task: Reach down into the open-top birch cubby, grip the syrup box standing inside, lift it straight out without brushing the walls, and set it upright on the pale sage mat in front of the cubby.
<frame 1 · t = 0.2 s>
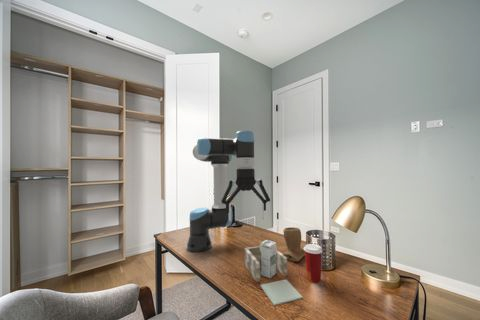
hand: (246, 219, 81), 28 cm above the table, fingers open, 13 cm apart
brown boot: (293, 256, 108), on the table
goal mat: (280, 291, 78), on the table
cubby: (268, 274, 91), on the table
paper cup: (313, 279, 86), on the table
syrup box: (268, 274, 91), resting in cubby
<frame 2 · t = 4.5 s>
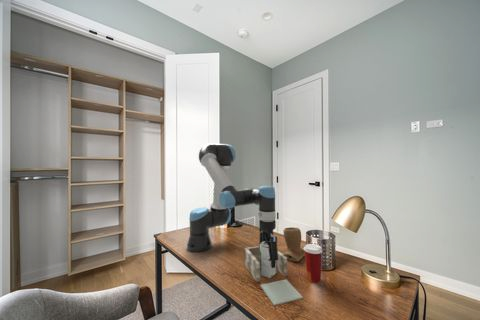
hand: (268, 269, 91), 2 cm above the table, fingers closed on syrup box, 7 cm apart
syrup box: (268, 274, 91), resting in cubby, touching gripper
everything else where it was.
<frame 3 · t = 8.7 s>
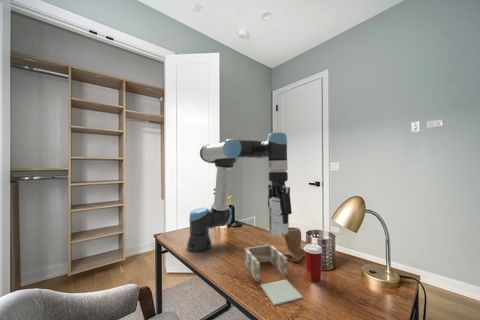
hand: (279, 228, 79), 25 cm above the table, fingers closed on syrup box, 7 cm apart
syrup box: (279, 234, 79), point 23 cm above the table, touching gripper
everything else where it was.
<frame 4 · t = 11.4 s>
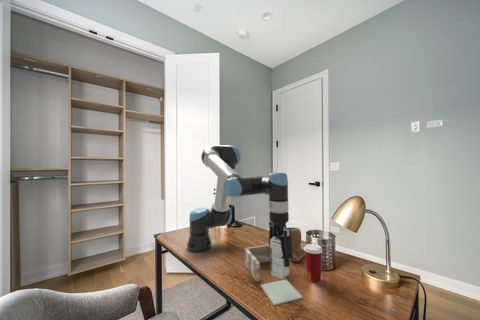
hand: (280, 268, 78), 9 cm above the table, fingers closed on syrup box, 7 cm apart
syrup box: (280, 274, 78), point 7 cm above the table, touching gripper
everything else where it was.
when the fingers open (4 cm above the table, at t = 13.4 s): syrup box stays where it is, resting on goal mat.
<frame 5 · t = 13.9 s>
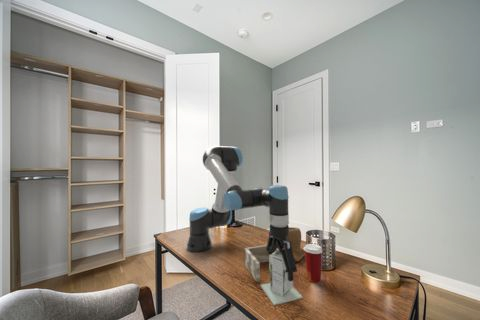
hand: (280, 278, 78), 5 cm above the table, fingers open, 13 cm apart
syrup box: (280, 290, 78), resting on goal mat
everything else where it was.
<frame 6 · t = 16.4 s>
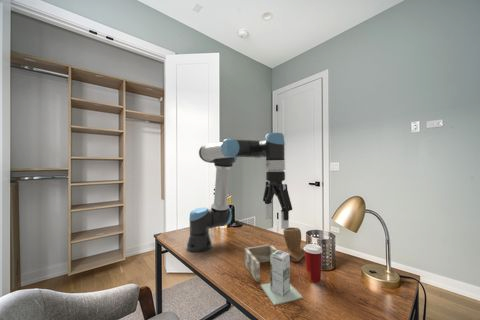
hand: (276, 223, 80), 27 cm above the table, fingers open, 13 cm apart
nothing on the table moved.
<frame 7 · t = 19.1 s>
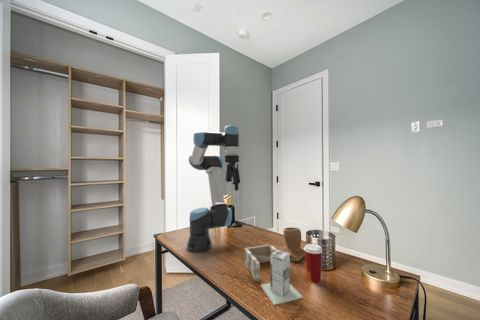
hand: (232, 195, 104), 35 cm above the table, fingers open, 13 cm apart
nothing on the table moved.
at the end: syrup box inside the target area on the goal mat (0.1 cm from its centre), point 0.3 cm above the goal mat's base; syrup box tilted 0°; syrup box touching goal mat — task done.
